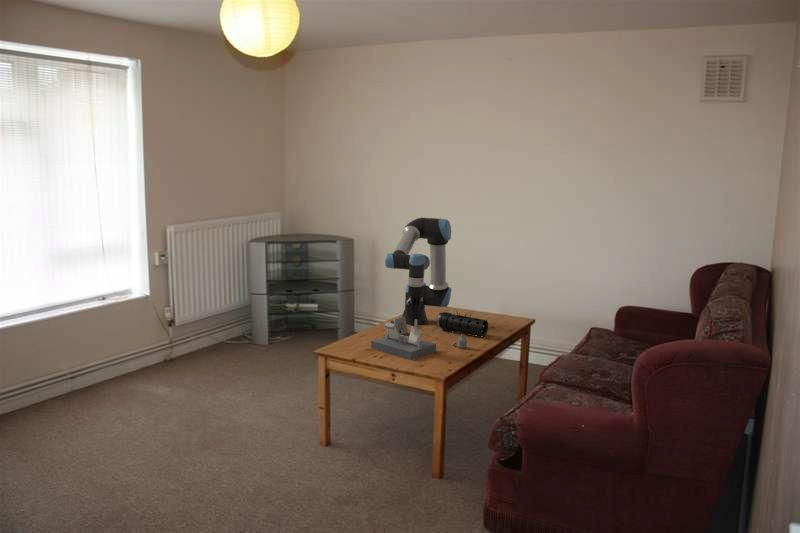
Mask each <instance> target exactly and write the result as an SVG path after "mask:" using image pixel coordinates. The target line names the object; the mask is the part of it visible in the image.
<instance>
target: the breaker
mask: <svg viewBox="0 0 800 533" xmlns="http://www.w3.org/2000/svg"><path fill="white" fill-rule="evenodd" d="M383 326H384V328H385V329H386V332H388V334H389V338H392V339H396V340H399V335H398V332H397V330H396V325H395V324H392V323H391V322H386V323H385V324H384V325H383Z"/></svg>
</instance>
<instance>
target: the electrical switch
mask: <svg viewBox="0 0 800 533" xmlns="http://www.w3.org/2000/svg"><path fill="white" fill-rule="evenodd" d="M390 323H392V324H395V325H396V330H397V332H398V334H401V335H405V334H408V333H409V332H408V326H407V325H408V324H406V320H405V317H402V316H400V317H397V318H394V319H393V320H391V321H390Z"/></svg>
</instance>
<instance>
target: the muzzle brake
mask: <svg viewBox="0 0 800 533" xmlns="http://www.w3.org/2000/svg"><path fill="white" fill-rule="evenodd" d="M458 316H459V314H455V313H454V314H453V313H451V312H446V311H444V312H440V313H439V314H437V317H436V326H437V327H438V328H440V329H442V330H447V331H448V332H450V331H453V332H452V333H455V332H458V333H461V329H460V326H461V327H462V333H461V334H463V330H464V332H465V335H468V334H471V335H470V336H472V335H477V336H483V337H482V338H485V336H486V335H487V334H488V331H489V321H488V320H487V319H482V318H477V317H471V316H466V319H465V315H461V314H460V317H459V319H458ZM469 318H470V319H469ZM460 320H461V324H459V321H460ZM468 320H469V322H468ZM464 323H465V327H464ZM467 323H468V325H467ZM466 326H467V328H466ZM465 329H466V331H465ZM477 336H476V337H477Z"/></svg>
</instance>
